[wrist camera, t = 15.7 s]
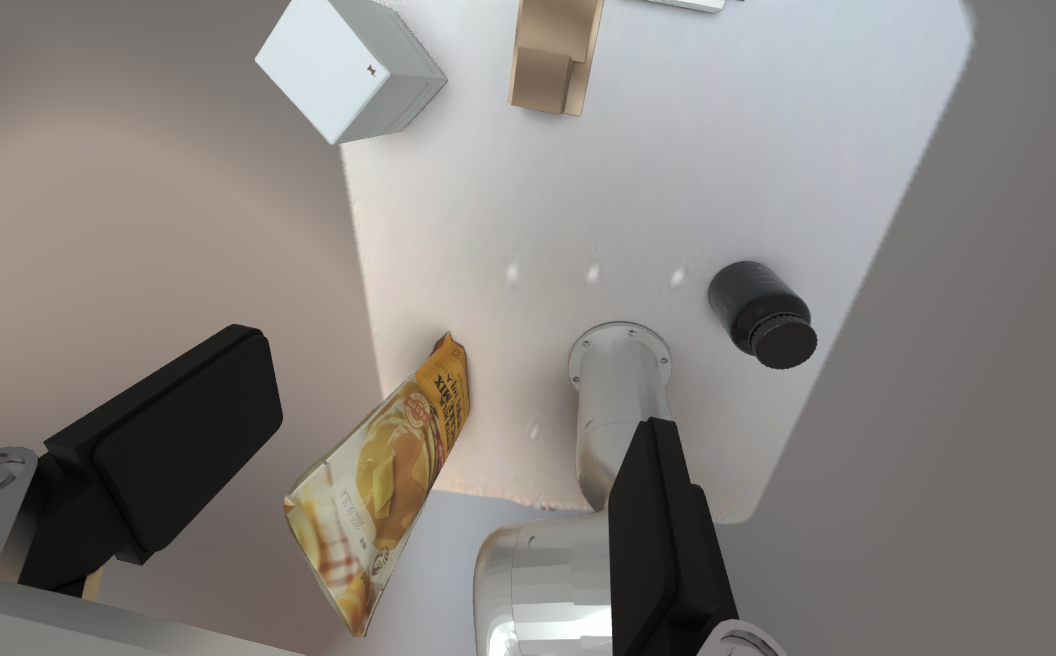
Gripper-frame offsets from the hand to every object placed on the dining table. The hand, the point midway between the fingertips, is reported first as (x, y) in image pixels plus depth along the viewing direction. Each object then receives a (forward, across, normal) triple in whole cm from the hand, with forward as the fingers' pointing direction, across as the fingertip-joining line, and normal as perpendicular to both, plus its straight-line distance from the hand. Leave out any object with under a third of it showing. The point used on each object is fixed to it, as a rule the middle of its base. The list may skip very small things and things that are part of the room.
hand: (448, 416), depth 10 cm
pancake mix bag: (+36, +10, +30) cm, 48 cm away
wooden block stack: (+36, +3, -11) cm, 38 cm away
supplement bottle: (+36, -22, +8) cm, 43 cm away
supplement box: (+36, +17, -6) cm, 41 cm away
